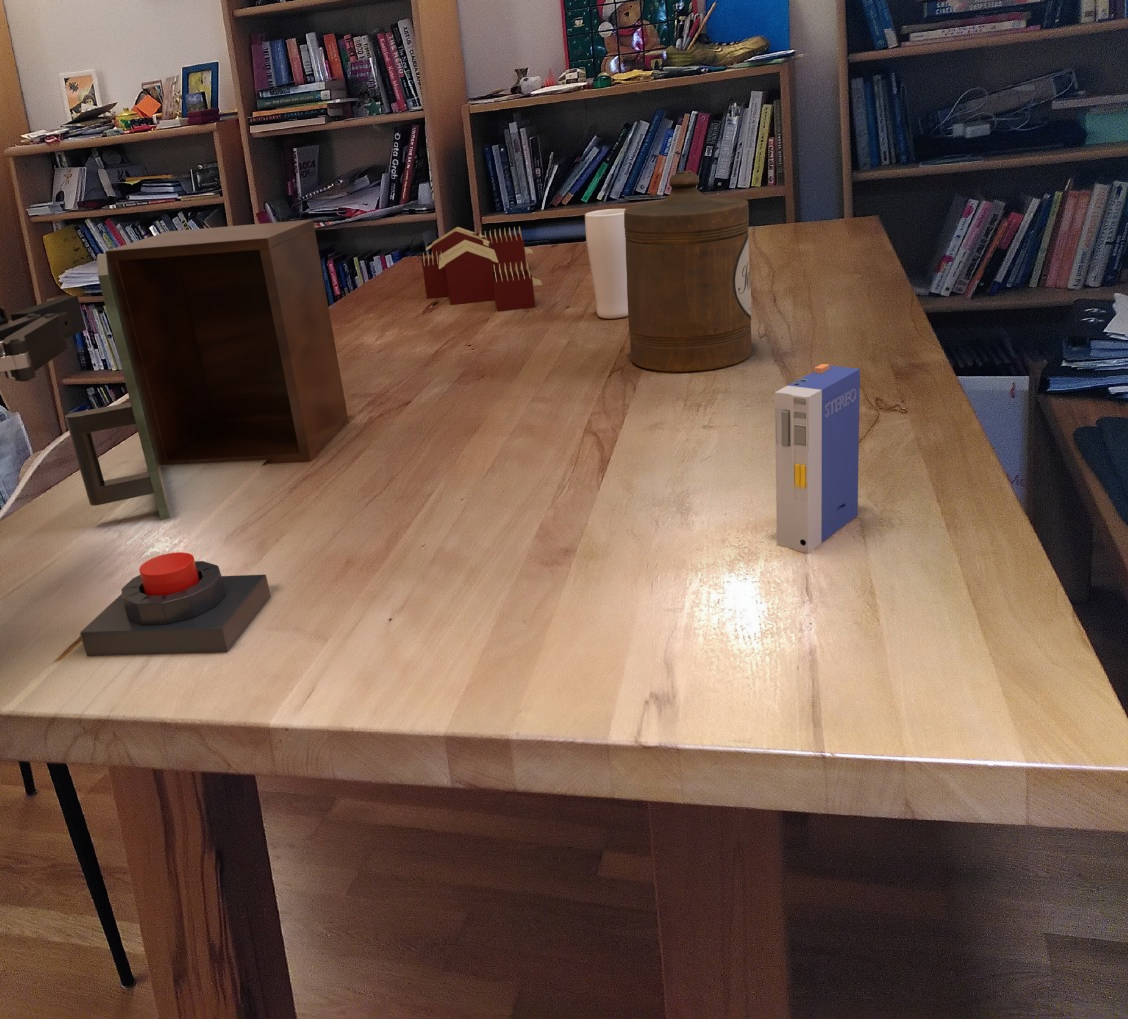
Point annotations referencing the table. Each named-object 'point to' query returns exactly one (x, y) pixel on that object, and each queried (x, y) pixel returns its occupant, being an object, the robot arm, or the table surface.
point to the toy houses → (480, 269)
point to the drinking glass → (608, 261)
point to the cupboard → (232, 342)
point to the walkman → (816, 456)
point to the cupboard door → (117, 421)
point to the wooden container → (688, 280)
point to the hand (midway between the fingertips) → (73, 313)
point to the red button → (169, 574)
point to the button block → (178, 616)
